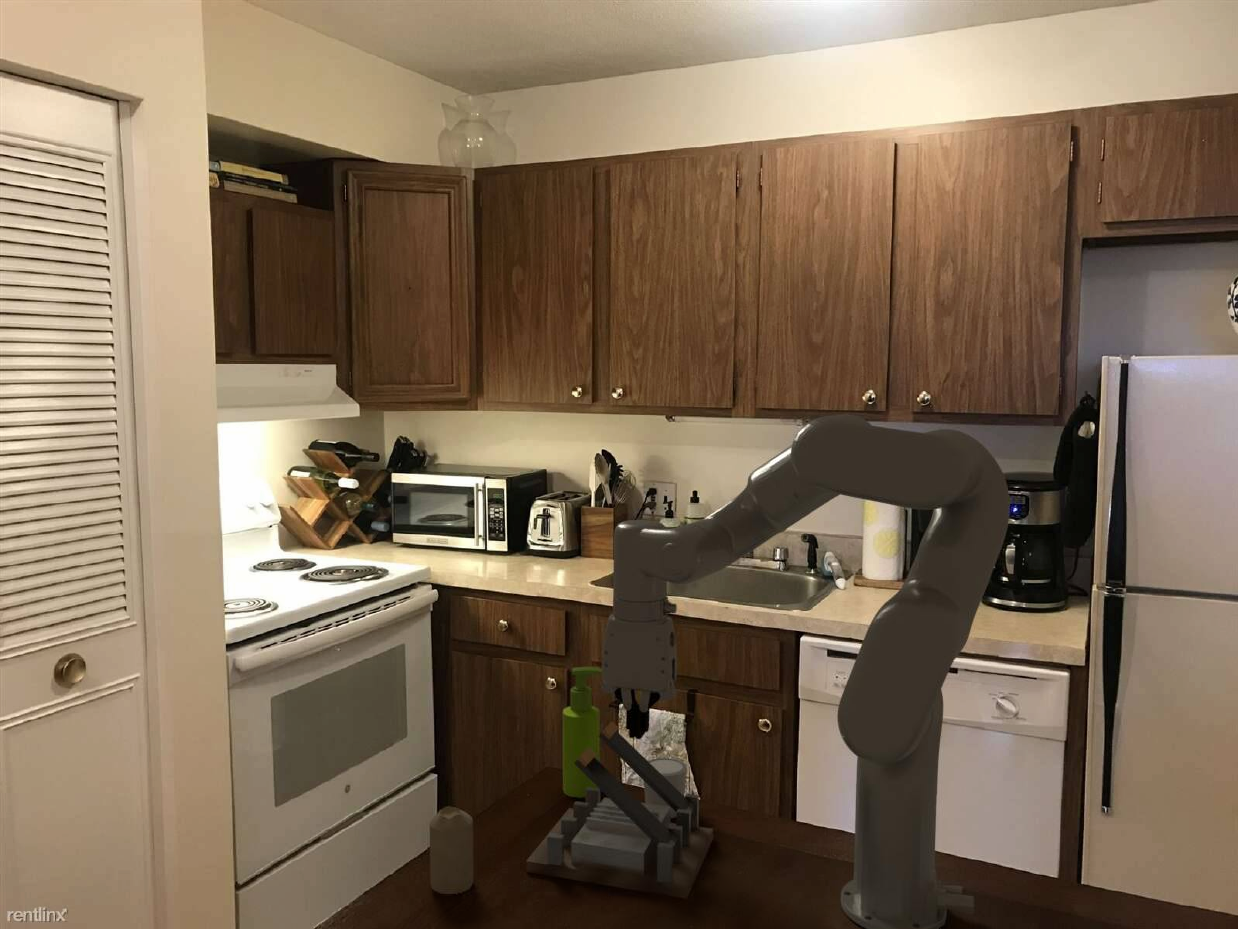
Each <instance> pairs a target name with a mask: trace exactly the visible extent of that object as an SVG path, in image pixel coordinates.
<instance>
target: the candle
mask: <svg viewBox="0 0 1238 929" xmlns="http://www.w3.org/2000/svg"><path fill="white" fill-rule="evenodd" d="M473 820H474V819H473V817H472V816H471V815H470V814H469V813H467V812H466V811H464V810H461V809H460V808H457V807H453V806H450V805H447V806H445V807H443V808H442V809H440V810H439V811H438V812H437V813H436V814H435V815H434V816H433V817H432V819H430V820H429V859H430V860H429V864H430V865H429V868H430V870H429V871H430V872H429V873H430V874H429V876H430V888H431V887H432V888H431V890H432V889H433V890H435V891H437V892H439V893H443V894H455V893H456V895H459V894H458V893H460V894H463V893H465V892H467V891H469V890H470V889H471V888H472V887H471V886H473V885H472V884H474V825H473V823H474V821H473ZM433 890H432V891H433ZM466 890H467V891H466ZM462 892H463V893H462Z"/></svg>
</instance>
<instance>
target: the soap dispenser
mask: <svg viewBox="0 0 1238 929" xmlns="http://www.w3.org/2000/svg"><path fill="white" fill-rule="evenodd" d="M571 675H572V676H575V686H572V687H571V688H570V691H569V692H570V693H569V695H570V696H569V698H570V701H569V702H570V706H567V707H565V708H563V710H562V792H563V791H564V792H563V793H564V795H566V796H568V797H571V798H574V797H576V799H582V798H581V797H585V789H586V788H587V787H593V788H598V787H597V786H596V785H595V784H594V783H593V782H592V781H591V780H590V779H589V778H588V777H587V776H586V775H585V774H584V773H583V772H582V771H581V770H580V769H579V768H578V767H577V766H576V765H575V764H574V763H575V762H576V761H577V760H578V758H579V757H580V756H581V755H582V754H583V753H584V752H585V751H586V749H587V748H588V747H590V748H591V749H592V750H593V751H594V752H595V753H596V755H595V758H596V759H597V760H598V761H599V762H600V763H601V758H600V755H601V753H600V752H601V751H600V739H601V738H600V737H599V735H600V734H601V733H600V730H601V729H600V728H601V727H600V726H601V725H600V722H601V721H600V716H601V714H600V709H599V708H598V707H596V706H594V705H593V704H592V703H593V702H592V700H593V698H592V697H593V696H592V695H593V694H592V693H593V692H592V687H589V686H588V685H587V675H598V676H602V667H601V668H600V667H597V666H578V667H572V670H571ZM577 797H578V798H577Z"/></svg>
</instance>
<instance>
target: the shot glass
mask: <svg viewBox="0 0 1238 929" xmlns="http://www.w3.org/2000/svg"><path fill="white" fill-rule="evenodd" d="M647 761H648V762H649V763H650V764H651V765H652V766H653V767H654V768H655V769H656V770H657V771H658V772H659V773H661V774H662V775H663V776H664V777H665V778H666V779H667V780H668V781H669V782H670V783H671V784H672V785H673V786H674V787H675V788H676V789H677V790H678V791H679V792H680V793H681V794H682V795H683V796H684V797H685V791H686V782H687V771H688V767H687V764H685V762H684V761H681V760H679V759H676V758H670V757H658V758H651V759H649V760H647ZM643 787H644V801H645V802H644V803H647V804H655V805H662V806H669V805H668V804H667V803H666V802H665V801H664V800H663V799H662V798H661V797H660V796H659V795H658V794H657V793H656V792H655V791H654V790H653V789H652V788H651V787H650V786H649V785H648V784H647V783H646V782H645V781H644V780H643ZM669 807H670V806H669ZM673 818H676V812H675V811H674V810H673V809H672V808H671V818H670V819H673Z"/></svg>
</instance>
